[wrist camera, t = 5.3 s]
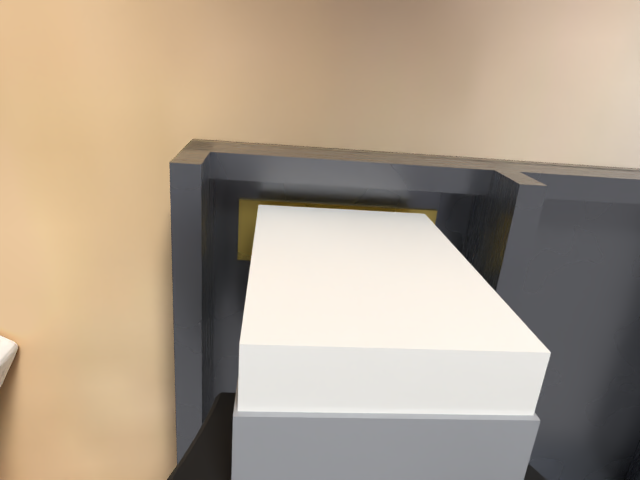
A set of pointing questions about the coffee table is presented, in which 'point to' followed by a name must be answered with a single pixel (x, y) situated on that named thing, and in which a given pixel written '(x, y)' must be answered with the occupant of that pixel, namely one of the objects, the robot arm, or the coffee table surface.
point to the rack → (469, 239)
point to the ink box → (6, 356)
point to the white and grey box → (378, 356)
